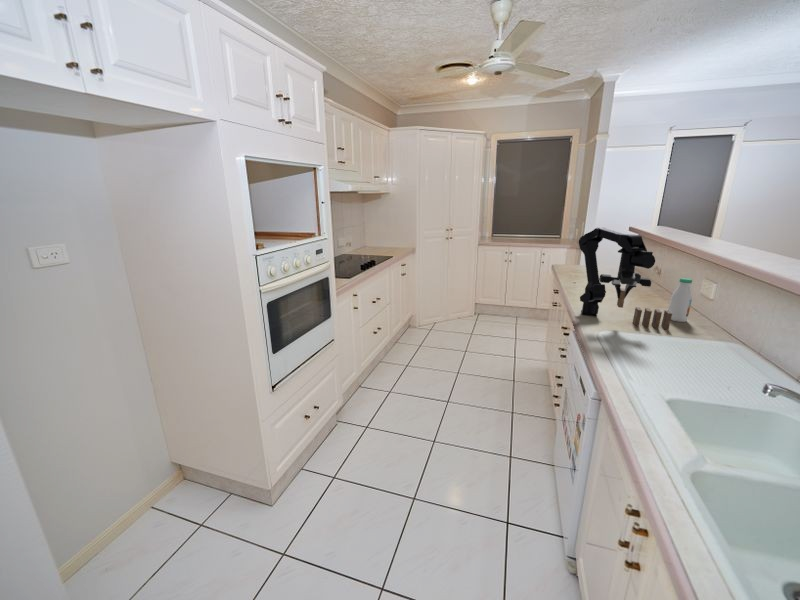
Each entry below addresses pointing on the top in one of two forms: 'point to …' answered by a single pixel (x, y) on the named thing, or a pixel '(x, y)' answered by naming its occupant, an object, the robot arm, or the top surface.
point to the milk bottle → (681, 301)
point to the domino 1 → (621, 298)
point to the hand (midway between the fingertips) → (620, 299)
